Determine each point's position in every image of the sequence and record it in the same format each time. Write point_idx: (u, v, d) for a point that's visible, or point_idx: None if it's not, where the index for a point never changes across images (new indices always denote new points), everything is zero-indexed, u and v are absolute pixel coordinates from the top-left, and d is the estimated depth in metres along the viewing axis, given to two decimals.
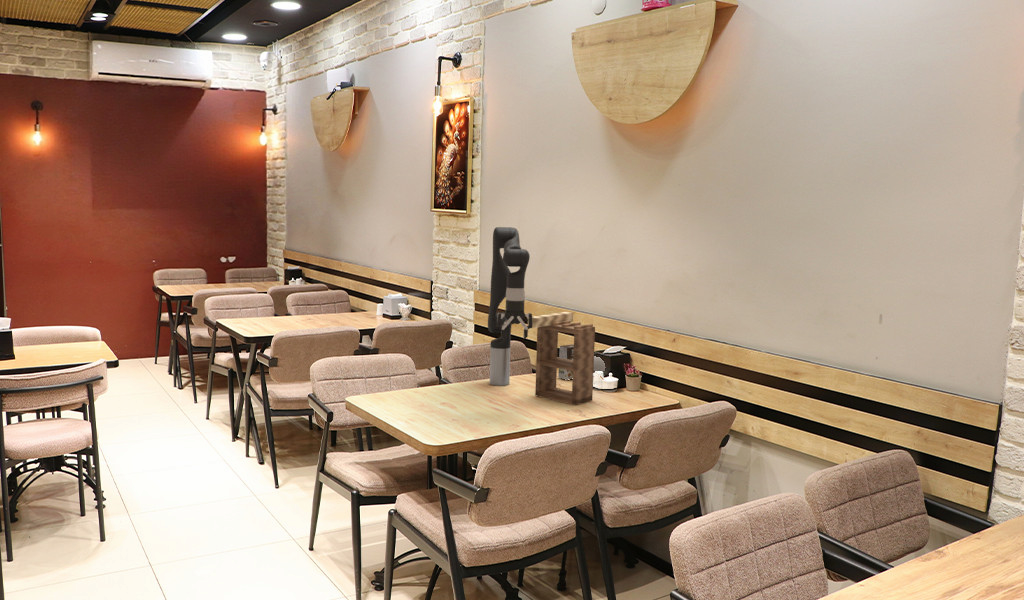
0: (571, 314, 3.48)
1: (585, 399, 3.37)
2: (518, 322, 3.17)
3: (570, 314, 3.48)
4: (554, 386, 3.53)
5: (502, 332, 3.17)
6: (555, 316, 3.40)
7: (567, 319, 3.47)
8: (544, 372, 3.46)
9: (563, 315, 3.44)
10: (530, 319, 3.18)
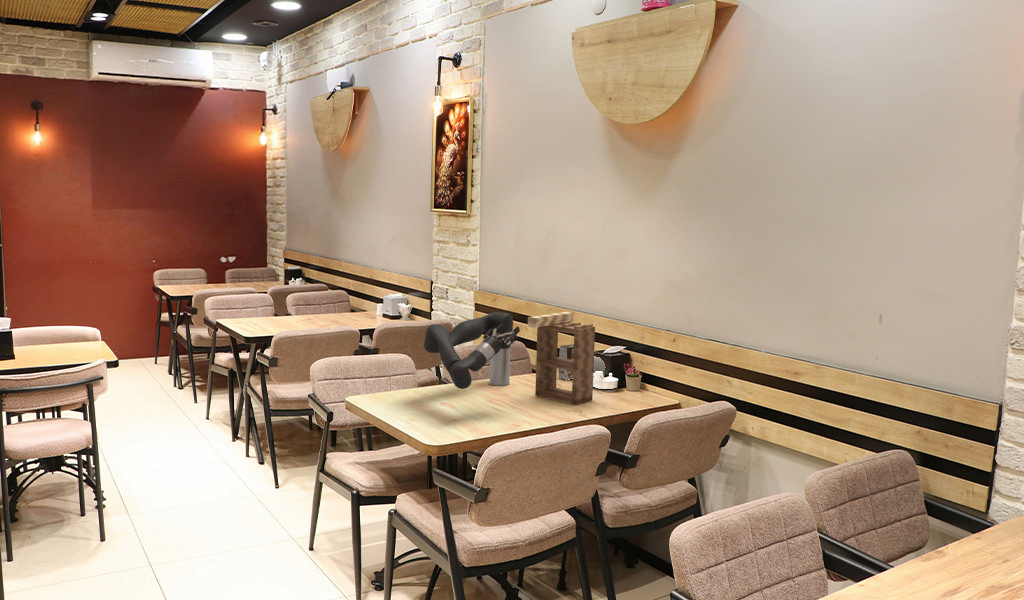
0: (571, 314, 3.48)
1: (585, 399, 3.37)
2: None
3: (570, 314, 3.48)
4: (554, 386, 3.53)
5: None
6: (555, 316, 3.40)
7: (567, 319, 3.47)
8: (544, 372, 3.46)
9: (563, 315, 3.44)
10: None
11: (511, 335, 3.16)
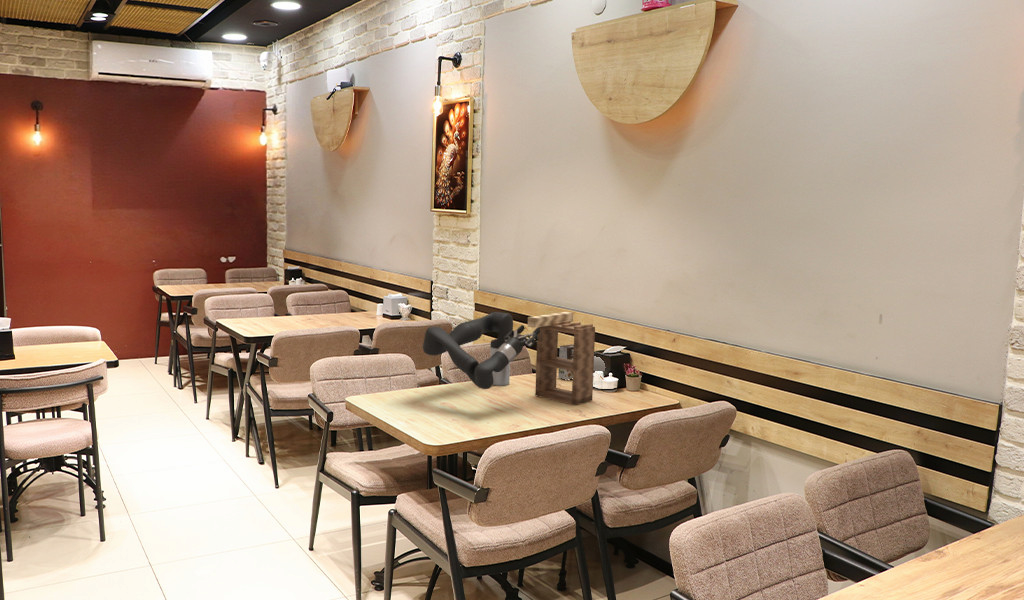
0: (571, 314, 3.48)
1: (585, 399, 3.37)
2: None
3: (570, 314, 3.48)
4: (554, 386, 3.53)
5: None
6: (555, 316, 3.40)
7: (567, 319, 3.47)
8: (544, 372, 3.46)
9: (563, 315, 3.44)
10: None
11: (532, 336, 3.24)
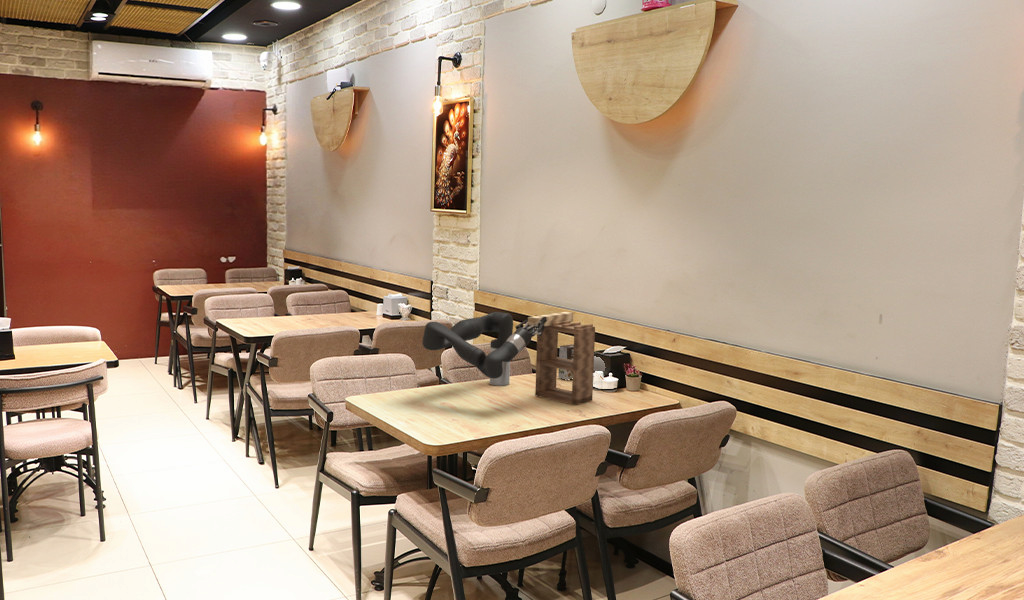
0: (571, 314, 3.48)
1: (585, 399, 3.37)
2: None
3: (570, 314, 3.48)
4: (554, 386, 3.53)
5: None
6: (555, 316, 3.40)
7: (567, 319, 3.47)
8: (544, 372, 3.46)
9: (563, 315, 3.44)
10: None
11: (539, 325, 3.29)
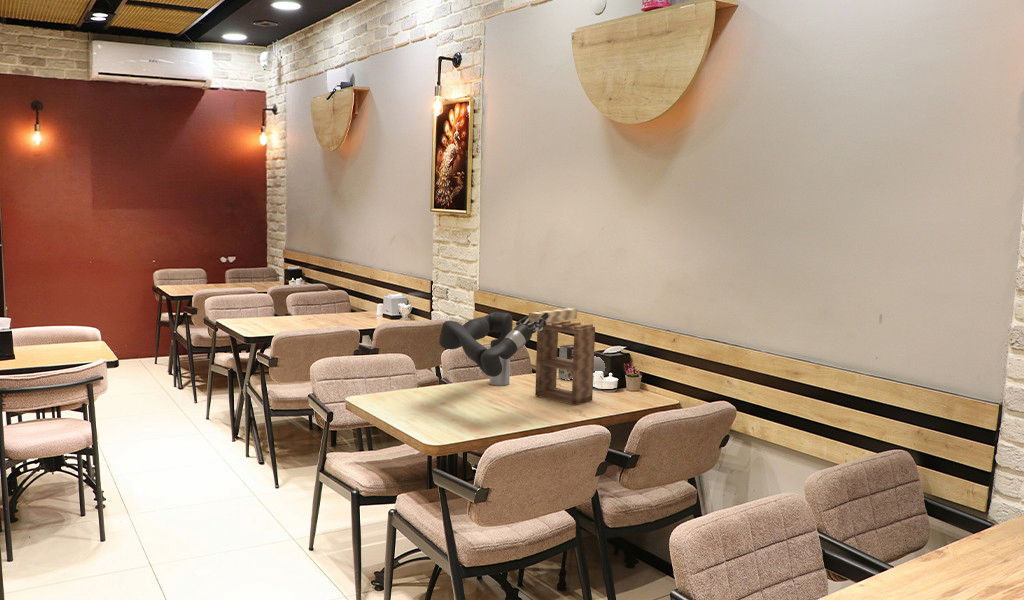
0: (575, 310, 3.33)
1: (585, 399, 3.37)
2: None
3: (574, 310, 3.33)
4: (554, 386, 3.53)
5: None
6: (558, 312, 3.25)
7: (571, 315, 3.31)
8: (544, 372, 3.46)
9: (566, 311, 3.29)
10: None
11: (541, 321, 3.14)
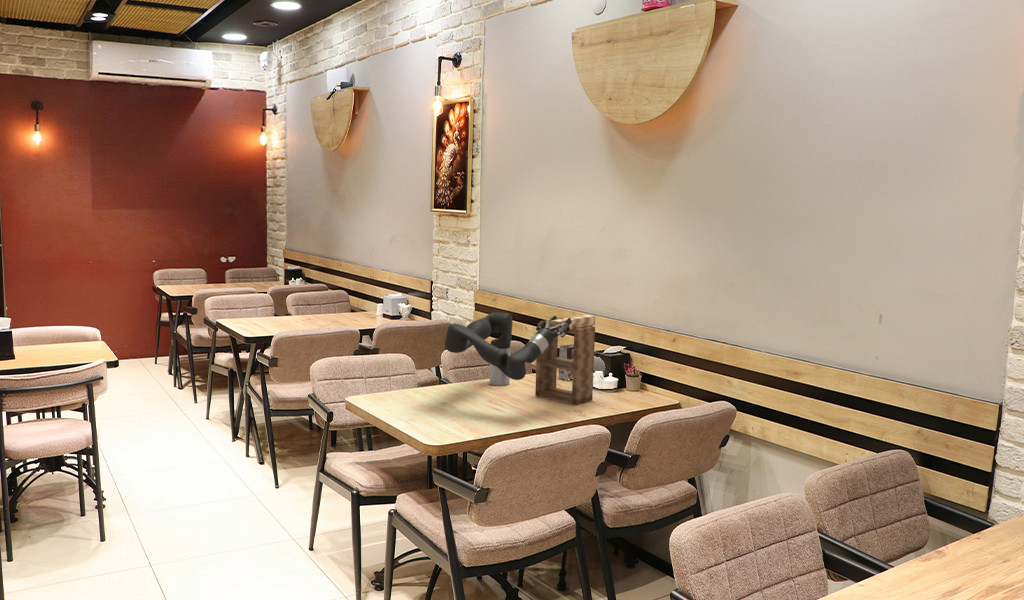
0: (593, 317, 3.40)
1: (585, 399, 3.37)
2: None
3: (592, 317, 3.40)
4: (554, 386, 3.53)
5: None
6: (577, 319, 3.32)
7: (589, 322, 3.39)
8: (544, 372, 3.46)
9: (585, 318, 3.36)
10: None
11: (564, 326, 3.20)
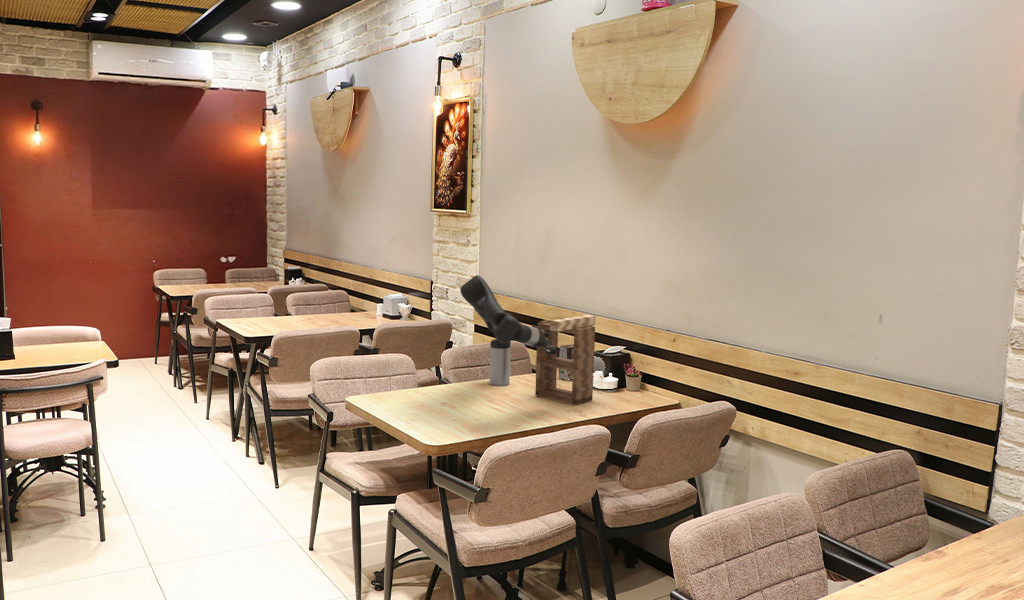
0: (593, 317, 3.40)
1: (585, 399, 3.37)
2: None
3: (592, 317, 3.40)
4: (554, 386, 3.53)
5: None
6: (577, 319, 3.32)
7: (589, 322, 3.39)
8: (544, 372, 3.46)
9: (585, 318, 3.36)
10: None
11: (554, 348, 3.18)
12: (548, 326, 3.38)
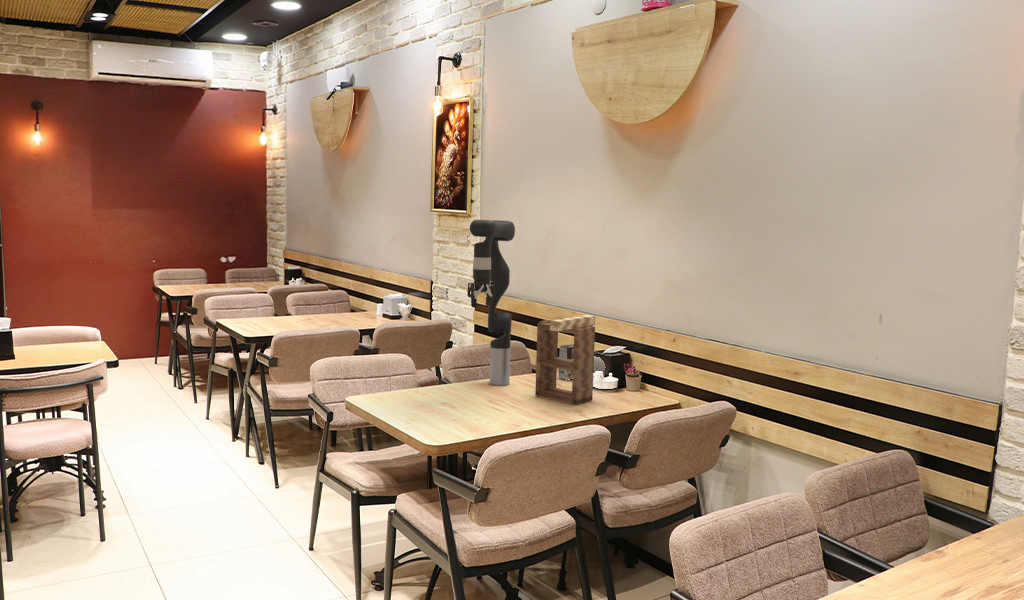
0: (593, 317, 3.40)
1: (585, 399, 3.37)
2: None
3: (592, 317, 3.40)
4: (554, 386, 3.53)
5: None
6: (577, 319, 3.32)
7: (589, 322, 3.39)
8: (544, 372, 3.46)
9: (585, 318, 3.36)
10: None
11: (473, 292, 3.25)
12: (548, 326, 3.38)
